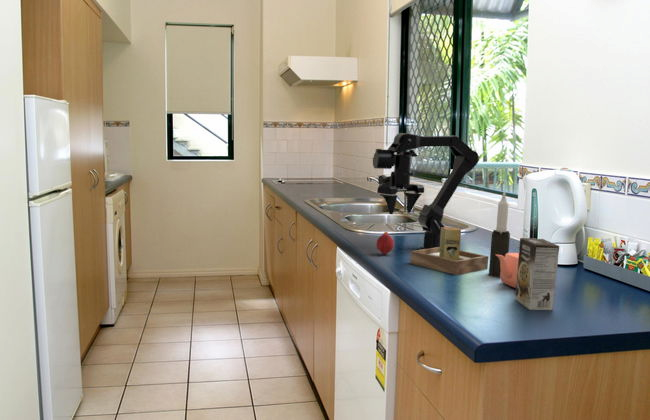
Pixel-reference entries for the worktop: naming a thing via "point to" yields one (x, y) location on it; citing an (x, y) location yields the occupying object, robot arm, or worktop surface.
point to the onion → (385, 243)
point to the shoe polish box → (450, 243)
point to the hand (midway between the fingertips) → (399, 213)
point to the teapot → (509, 268)
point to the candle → (499, 238)
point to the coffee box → (536, 273)
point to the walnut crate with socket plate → (449, 261)
